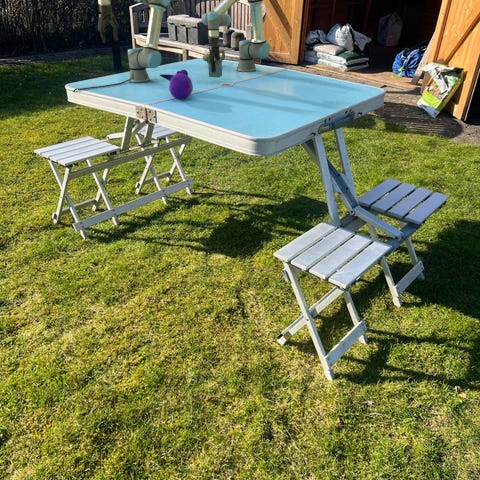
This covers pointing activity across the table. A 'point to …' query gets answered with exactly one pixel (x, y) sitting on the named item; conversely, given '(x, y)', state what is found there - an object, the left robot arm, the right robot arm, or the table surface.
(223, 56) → the teapot
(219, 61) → the block
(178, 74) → the toy
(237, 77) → the table surface
